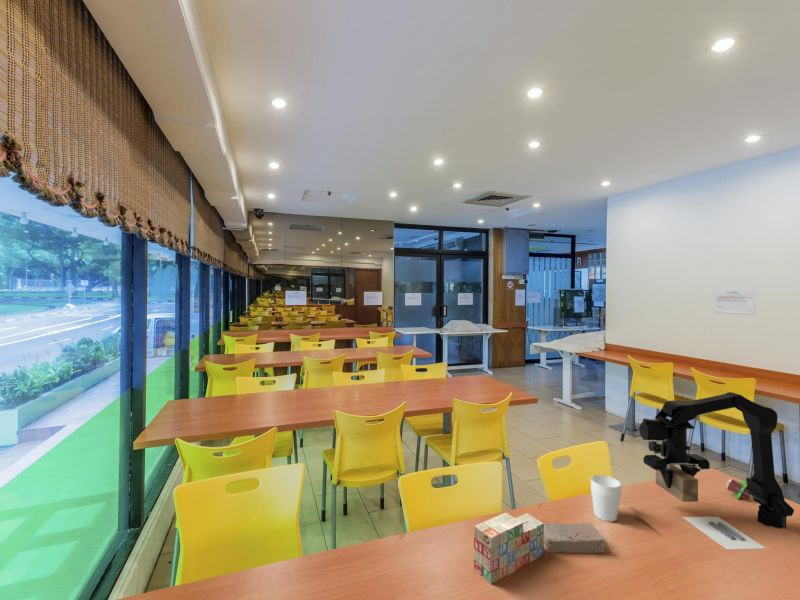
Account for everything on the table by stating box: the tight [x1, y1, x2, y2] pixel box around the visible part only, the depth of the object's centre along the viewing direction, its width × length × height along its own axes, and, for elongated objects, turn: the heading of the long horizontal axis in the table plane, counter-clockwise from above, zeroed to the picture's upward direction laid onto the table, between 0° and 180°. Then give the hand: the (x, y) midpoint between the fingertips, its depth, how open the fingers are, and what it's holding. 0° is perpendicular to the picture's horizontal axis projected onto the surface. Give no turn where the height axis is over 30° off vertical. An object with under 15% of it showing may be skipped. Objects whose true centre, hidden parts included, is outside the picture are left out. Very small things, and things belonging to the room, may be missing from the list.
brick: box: [543, 522, 606, 554], centre depth 114 cm, size 17×8×5 cm, turn 89°
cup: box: [590, 474, 622, 523], centre depth 129 cm, size 9×9×12 cm
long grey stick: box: [717, 522, 745, 541], centre depth 118 cm, size 1×8×1 cm, turn 3°
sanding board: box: [682, 516, 766, 550], centre depth 118 cm, size 12×16×2 cm
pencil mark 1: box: [709, 522, 736, 540], centre depth 118 cm, size 1×8×1 cm, turn 3°
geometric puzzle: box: [726, 478, 752, 501], centre depth 142 cm, size 7×7×8 cm
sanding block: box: [655, 465, 699, 503], centre depth 127 cm, size 5×12×7 cm, turn 2°
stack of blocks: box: [473, 512, 545, 584], centre depth 106 cm, size 21×6×12 cm, turn 122°
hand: (676, 487), depth 127 cm, fingers closed on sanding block, 5 cm apart
